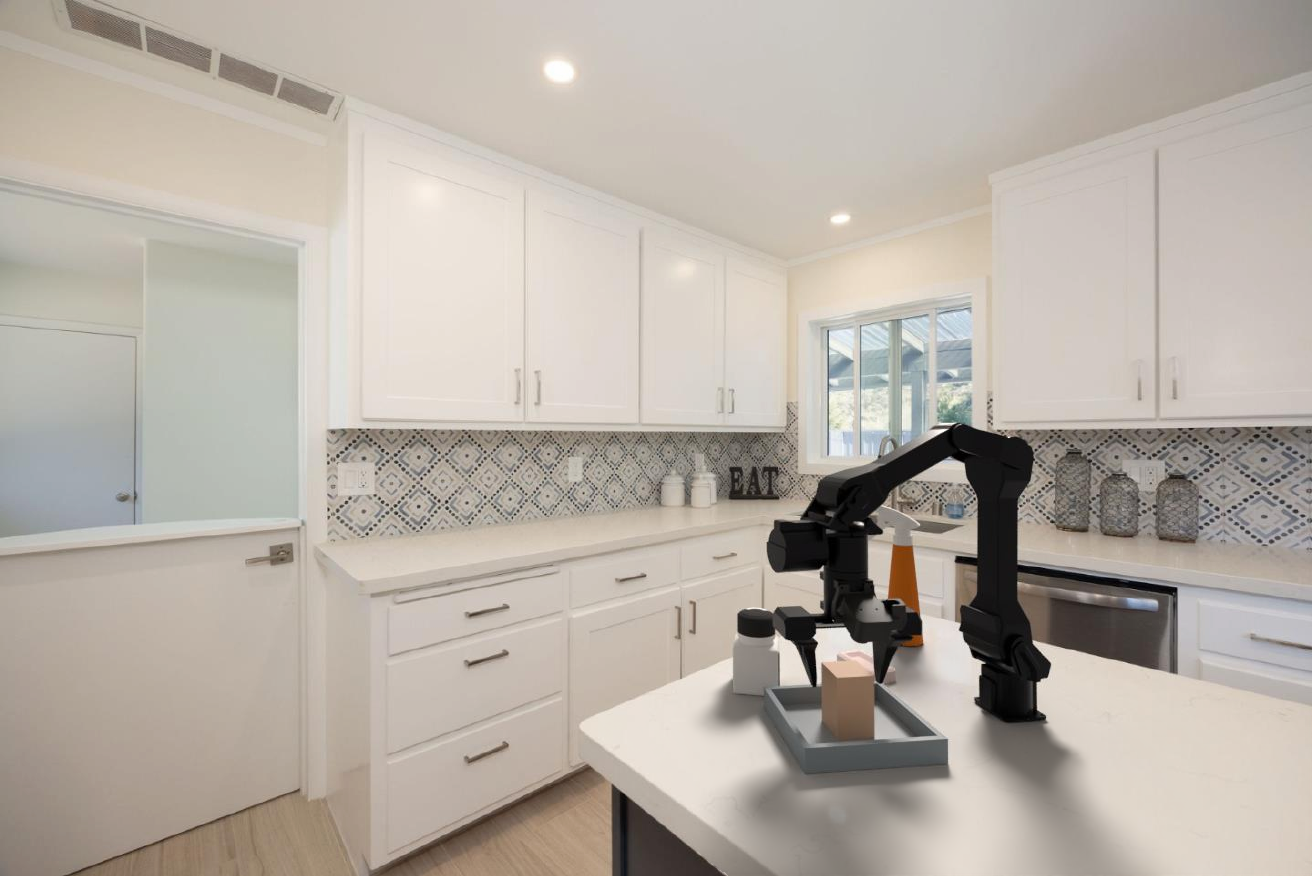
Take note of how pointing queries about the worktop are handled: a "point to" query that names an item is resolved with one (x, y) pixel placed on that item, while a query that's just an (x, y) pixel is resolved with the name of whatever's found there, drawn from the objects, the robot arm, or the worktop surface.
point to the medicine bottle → (755, 652)
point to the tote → (819, 751)
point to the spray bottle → (901, 561)
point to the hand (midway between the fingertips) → (846, 684)
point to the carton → (847, 699)
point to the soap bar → (866, 663)
